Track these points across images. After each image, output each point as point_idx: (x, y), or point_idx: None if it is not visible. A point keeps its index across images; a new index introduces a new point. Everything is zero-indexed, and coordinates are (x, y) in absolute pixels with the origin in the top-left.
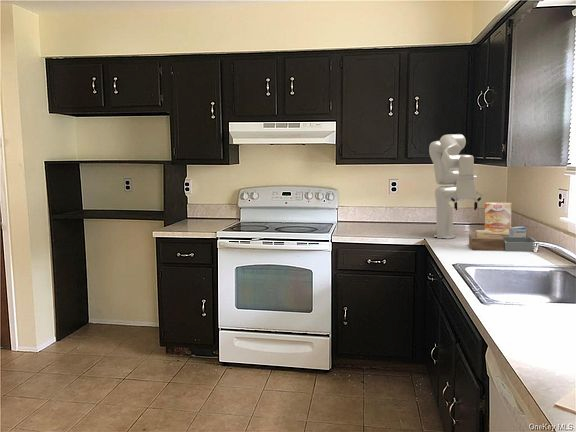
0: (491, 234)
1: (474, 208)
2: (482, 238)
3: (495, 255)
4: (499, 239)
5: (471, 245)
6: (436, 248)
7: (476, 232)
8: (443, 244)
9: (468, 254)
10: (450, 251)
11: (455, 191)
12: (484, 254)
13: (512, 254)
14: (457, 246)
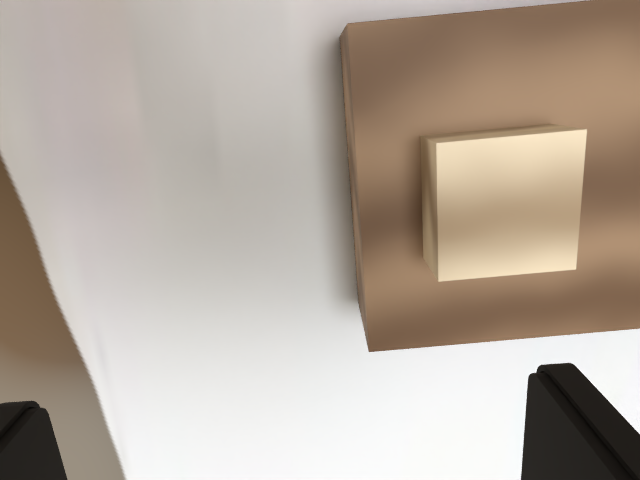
0: (620, 2)
1: (539, 460)
2: (471, 308)
3: (504, 454)
4: (623, 328)
5: (358, 276)
6: (70, 278)
7: (433, 210)
8: (90, 57)
9: (330, 454)
10: (199, 378)
11: None
12: (436, 437)
13: (625, 405)
14: (234, 150)
